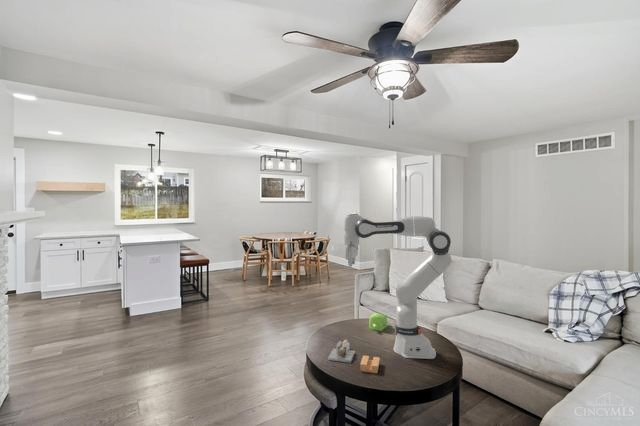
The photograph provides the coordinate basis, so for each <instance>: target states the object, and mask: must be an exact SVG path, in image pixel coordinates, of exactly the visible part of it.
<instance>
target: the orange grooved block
mask: <svg viewBox="0 0 640 426" xmlns="http://www.w3.org/2000/svg"><path fill="white" fill-rule="evenodd" d="M361 357H362V358H361V361H360V363H359V366H360V372H364V373H372V374H378V371H379V367H380V363H381V362H380V359H381V358H380V357H379V356H373V358H372V359H370V356H369V355H364V354H363V355H362V356H361Z"/></svg>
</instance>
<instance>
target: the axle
mask: <svg viewBox="0 0 640 426" xmlns="http://www.w3.org/2000/svg"><path fill="white" fill-rule="evenodd" d="M346 342H350V341H349V340H348V339H344V340H343V341H342V344H341V347H340V349H339V351H338V354H339V355H340V356H342V355H344V353H345V351H346V348H344V346H345V344H346Z"/></svg>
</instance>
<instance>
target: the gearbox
mask: <svg viewBox="0 0 640 426" xmlns="http://www.w3.org/2000/svg"><path fill="white" fill-rule="evenodd" d="M368 322H369V324H368V327H369V328H368V329H369V330H371V331H379V332H382V331H383V330H385V329H386V328H387V326H388V317H387V314H383V313H378V312H374V313H373V314H371V315H370V316H369V318H368Z"/></svg>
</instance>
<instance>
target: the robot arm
mask: <svg viewBox="0 0 640 426" xmlns="http://www.w3.org/2000/svg"><path fill="white" fill-rule="evenodd" d="M343 228H344V237H343V238H344V239H343V243H344V246H345V259H346V260H347V263H348V267H349V268H351V267H352V266H353V265H355V264H356V257H357V256H358V253H359V246H360V238H362V239H367V238H370V237H371V236H373V235H386V234H387V235H388V234H389V235H390V234H392V235H397V236H398V235H399V236H404V237H424V238H425V239H426V241H427V244H428V246H429V247H430V248H431V253H430V255H429V256H428V257H427V258H426V259H424V260H423V261H422V262H421V263H420V264H419V265H418V266H416V268H414V270H412V272H411V273H410V274H409V275H408V276H407V277H406V278H402V279H400V280H399V281H398V283H397V284H396V291H395V295H396V314H395V315H396V316H395V317H396V321H395V323H396V324H395V325H394V327H395V331H394V333H395V340H394V346H393V349H392V351H393V352H395V353H396V354H397V355H400V356H402V357H403V358H405V359H424V360H425V359H427V360H434V359H435V358H436V356H437V351H436V349H435V348H433V346H432V343H431V341H430V339H429V338H427V337H426V336H425V335H424V334H423V331H422V329H421V326H420V325H418V301H417V300H418V298H419V297H420V295H422V293H423V292H424V291H425V290H426V289H427V288H428V287H429V285H431V284H432V283H433V282H434V281H435V280H436V279H439V277H440V276H441V275H442V274H443V273H444V272H445V271H446V270H447V269H448V268H449V267H450V265H452V262H453V259H452V256H451V254H450V253H449V250H450V247H451V242H452V240H451V237H450V235H449V234H448V233H447V232H446V231H443V230H441V229H439V228H436V222H435V220H434V219H433V218H432V217H429V216H423V215H422V216H421V215H420V216H419V215H414V216H406V217H405V216H404V217H402V218H401V217H400V218H398V219H396V220H392V221H381V222H380V221H379V222H378V221H376V222H374V221H373V220H371V219H368V218H365V217H363V216H361V215H359V214H358V213H350V214H347V215H346V216H345V218H344V223H343Z"/></svg>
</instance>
